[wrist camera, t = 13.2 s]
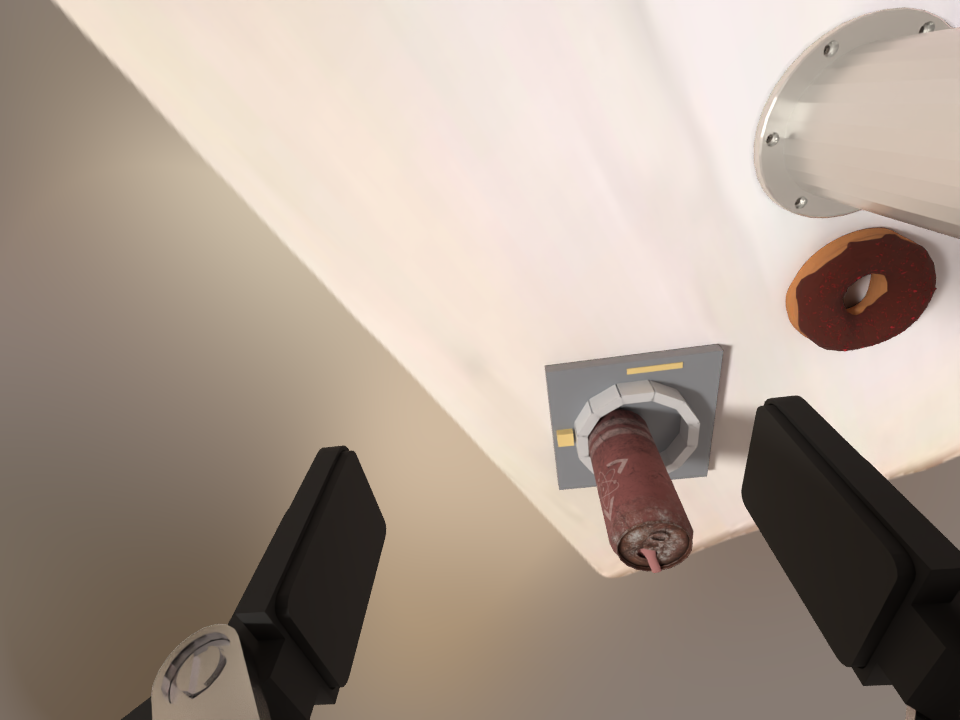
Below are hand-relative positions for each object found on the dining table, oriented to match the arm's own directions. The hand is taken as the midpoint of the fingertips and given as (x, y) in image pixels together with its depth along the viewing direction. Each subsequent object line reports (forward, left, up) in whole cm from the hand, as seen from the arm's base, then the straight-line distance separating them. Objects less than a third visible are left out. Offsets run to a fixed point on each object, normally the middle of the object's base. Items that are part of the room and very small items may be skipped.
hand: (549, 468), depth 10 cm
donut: (-27, +11, -29) cm, 41 cm away
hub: (-9, +23, -28) cm, 38 cm away
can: (-7, +23, -27) cm, 36 cm away
